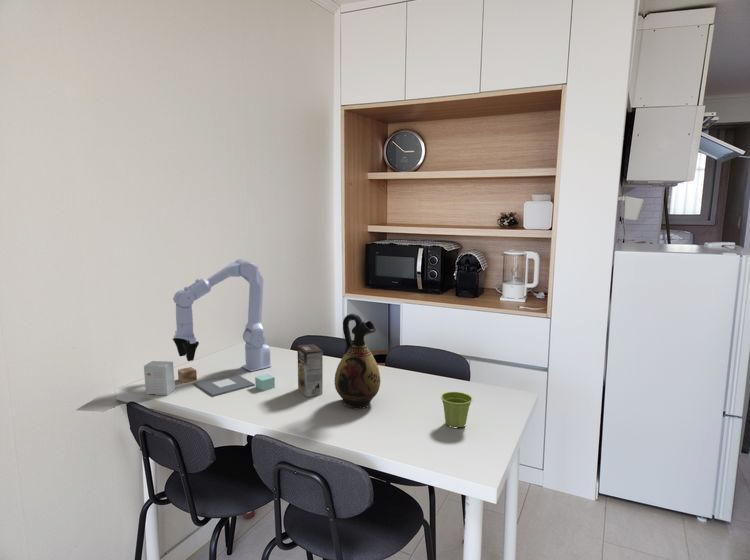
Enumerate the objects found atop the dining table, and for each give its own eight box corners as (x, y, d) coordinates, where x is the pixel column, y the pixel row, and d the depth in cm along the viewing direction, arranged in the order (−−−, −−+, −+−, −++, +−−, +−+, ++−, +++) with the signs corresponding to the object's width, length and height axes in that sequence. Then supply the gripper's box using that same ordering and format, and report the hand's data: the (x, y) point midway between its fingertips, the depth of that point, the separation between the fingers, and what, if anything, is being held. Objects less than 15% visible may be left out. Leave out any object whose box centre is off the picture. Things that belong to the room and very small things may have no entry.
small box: (175, 389, 177) (173, 361, 175) (167, 395, 171) (165, 366, 170) (154, 388, 178) (152, 360, 176) (145, 394, 172) (143, 365, 171)
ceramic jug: (389, 400, 169) (390, 314, 164) (362, 416, 156) (363, 323, 152) (349, 389, 178) (349, 308, 174) (321, 403, 166) (320, 316, 161)
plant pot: (444, 415, 157) (444, 389, 156) (473, 420, 154) (474, 394, 152) (436, 428, 149) (437, 400, 147) (468, 433, 145) (469, 405, 144)
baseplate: (234, 374, 193) (234, 372, 193) (254, 385, 182) (254, 383, 181) (194, 384, 183) (193, 382, 182) (212, 396, 171) (212, 394, 171)
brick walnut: (191, 376, 190) (191, 366, 190) (196, 380, 187) (196, 370, 186) (178, 379, 187) (177, 369, 187) (183, 383, 183) (183, 373, 183)
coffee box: (297, 388, 179) (296, 345, 176) (314, 385, 182) (313, 343, 179) (305, 397, 171) (305, 352, 168) (323, 394, 174) (323, 349, 171)
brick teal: (267, 384, 183) (267, 373, 183) (274, 387, 180) (274, 377, 179) (255, 387, 180) (255, 376, 180) (262, 391, 176) (262, 380, 176)
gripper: (166, 320, 186) (168, 355, 188) (181, 328, 176) (183, 365, 178) (185, 318, 191) (186, 352, 193) (200, 325, 180) (202, 361, 182)
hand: (186, 358), depth 186 cm, fingers open, 7 cm apart
